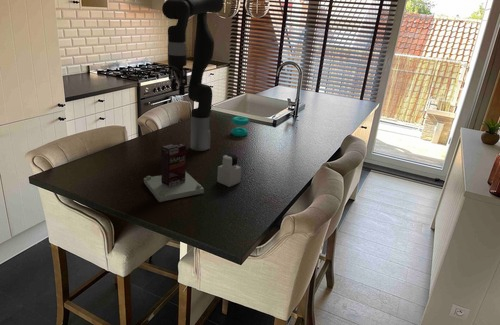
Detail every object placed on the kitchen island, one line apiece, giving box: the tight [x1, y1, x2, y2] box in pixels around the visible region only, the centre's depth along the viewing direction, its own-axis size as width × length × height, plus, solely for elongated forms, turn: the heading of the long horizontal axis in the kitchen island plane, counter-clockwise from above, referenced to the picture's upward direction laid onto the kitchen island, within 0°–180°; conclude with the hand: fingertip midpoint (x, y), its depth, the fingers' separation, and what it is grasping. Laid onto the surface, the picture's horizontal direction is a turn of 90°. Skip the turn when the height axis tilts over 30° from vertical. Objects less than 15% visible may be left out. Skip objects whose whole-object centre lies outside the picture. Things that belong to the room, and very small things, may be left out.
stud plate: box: [143, 171, 205, 203], centre depth 144 cm, size 18×18×3 cm
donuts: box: [230, 116, 250, 138], centre depth 214 cm, size 10×10×10 cm
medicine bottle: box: [216, 153, 242, 188], centre depth 151 cm, size 7×7×12 cm
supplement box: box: [160, 142, 187, 188], centre depth 141 cm, size 9×5×16 cm, turn 140°
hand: (177, 93), depth 154 cm, fingers open, 8 cm apart
